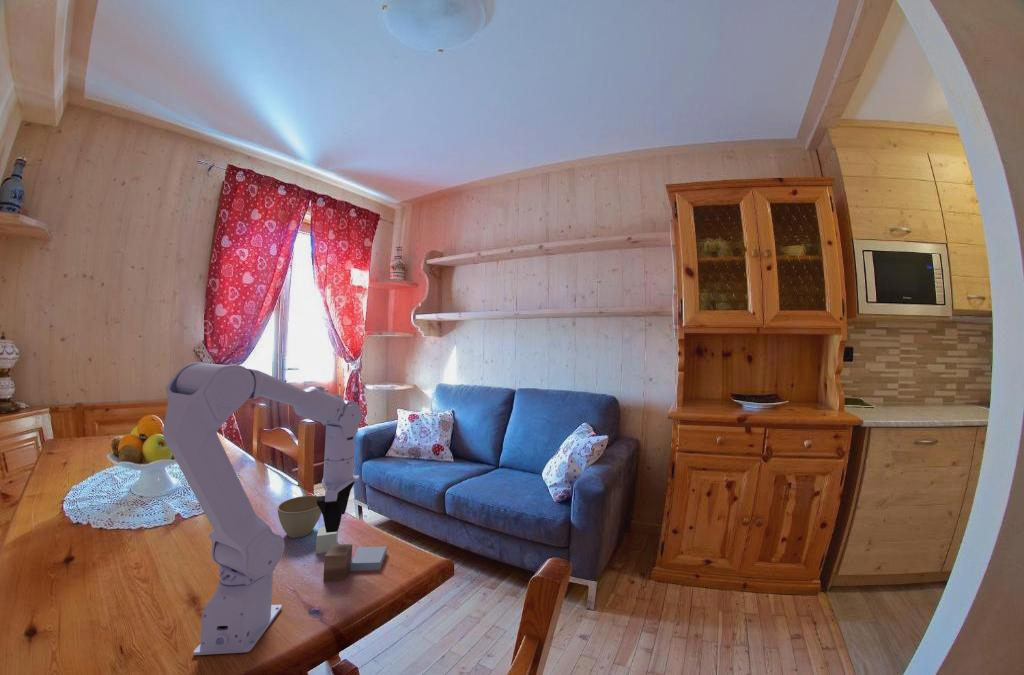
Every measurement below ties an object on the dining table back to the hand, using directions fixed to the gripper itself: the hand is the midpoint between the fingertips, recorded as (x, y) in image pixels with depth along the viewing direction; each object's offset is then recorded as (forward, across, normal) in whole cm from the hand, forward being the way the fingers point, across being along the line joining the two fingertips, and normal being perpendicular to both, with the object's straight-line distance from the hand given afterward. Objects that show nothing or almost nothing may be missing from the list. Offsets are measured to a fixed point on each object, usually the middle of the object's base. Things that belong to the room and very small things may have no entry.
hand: (336, 522), depth 75 cm
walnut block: (+10, -2, -1) cm, 10 cm away
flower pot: (+10, +17, +11) cm, 22 cm away
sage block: (+10, +8, +3) cm, 13 cm away
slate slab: (+10, +1, -7) cm, 12 cm away
